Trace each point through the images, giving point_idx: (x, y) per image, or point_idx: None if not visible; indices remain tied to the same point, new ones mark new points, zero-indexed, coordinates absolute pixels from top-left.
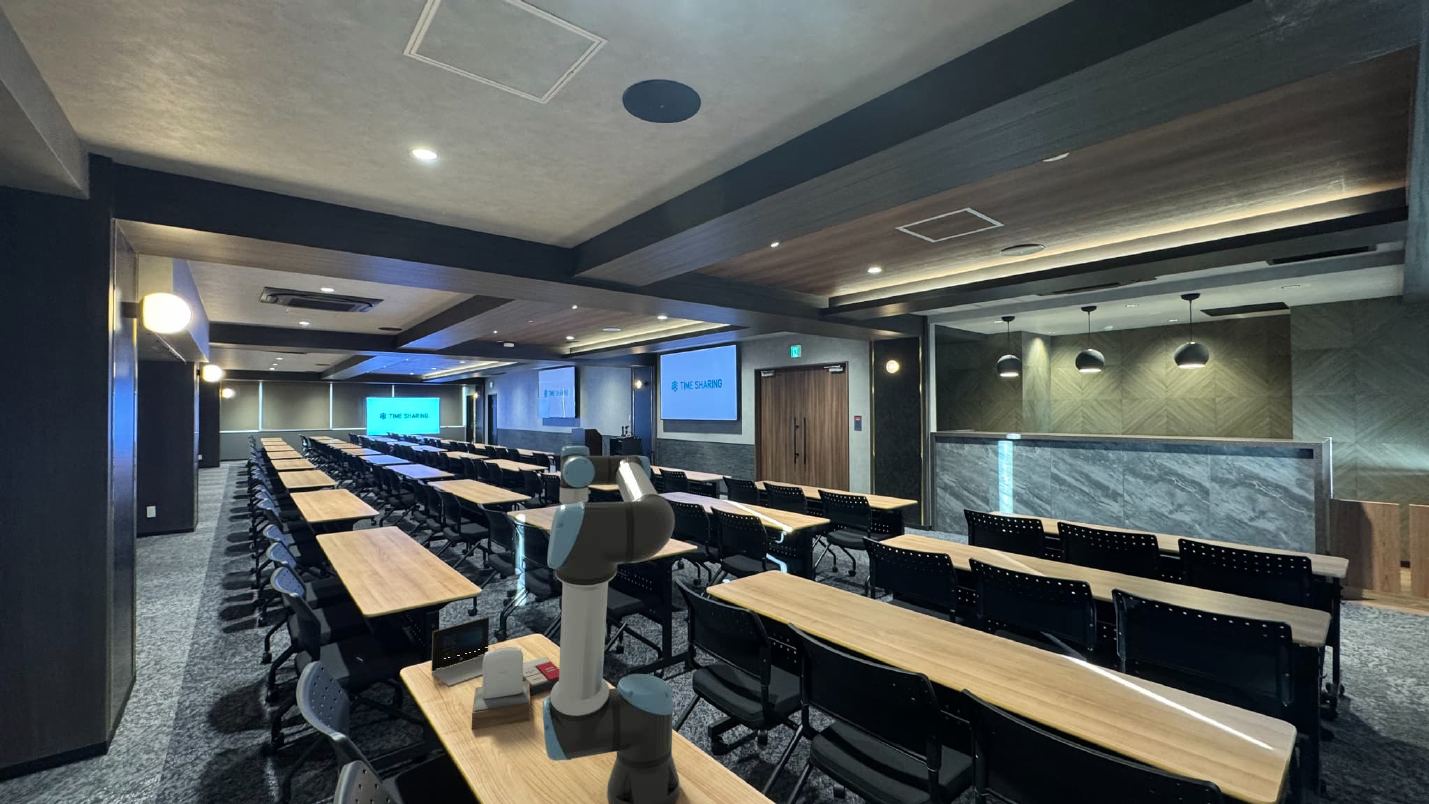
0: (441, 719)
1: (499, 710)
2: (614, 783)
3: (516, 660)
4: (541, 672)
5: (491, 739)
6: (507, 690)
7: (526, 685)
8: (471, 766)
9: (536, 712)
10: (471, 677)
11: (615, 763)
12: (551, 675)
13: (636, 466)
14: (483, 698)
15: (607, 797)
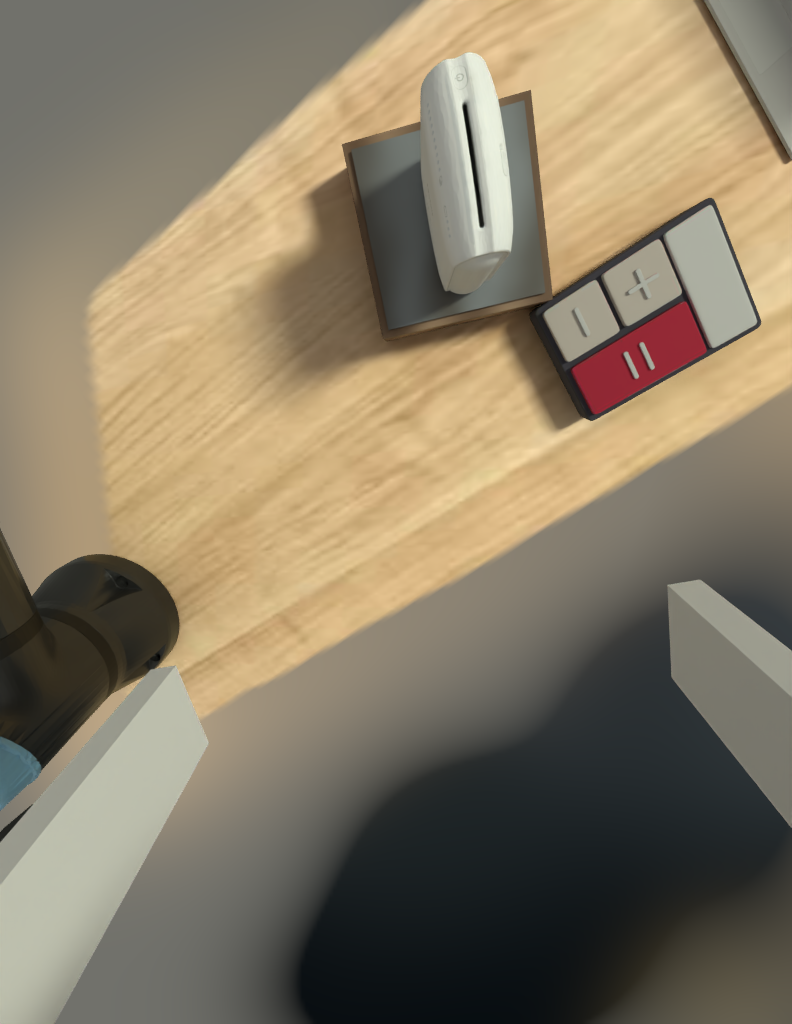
0: (418, 23)
1: (363, 241)
2: (45, 584)
3: (443, 248)
4: (635, 329)
5: (295, 249)
6: (432, 242)
7: (509, 298)
8: (176, 229)
9: (428, 352)
10: (721, 25)
11: (50, 597)
12: (596, 371)
13: None
14: None
15: (89, 555)
